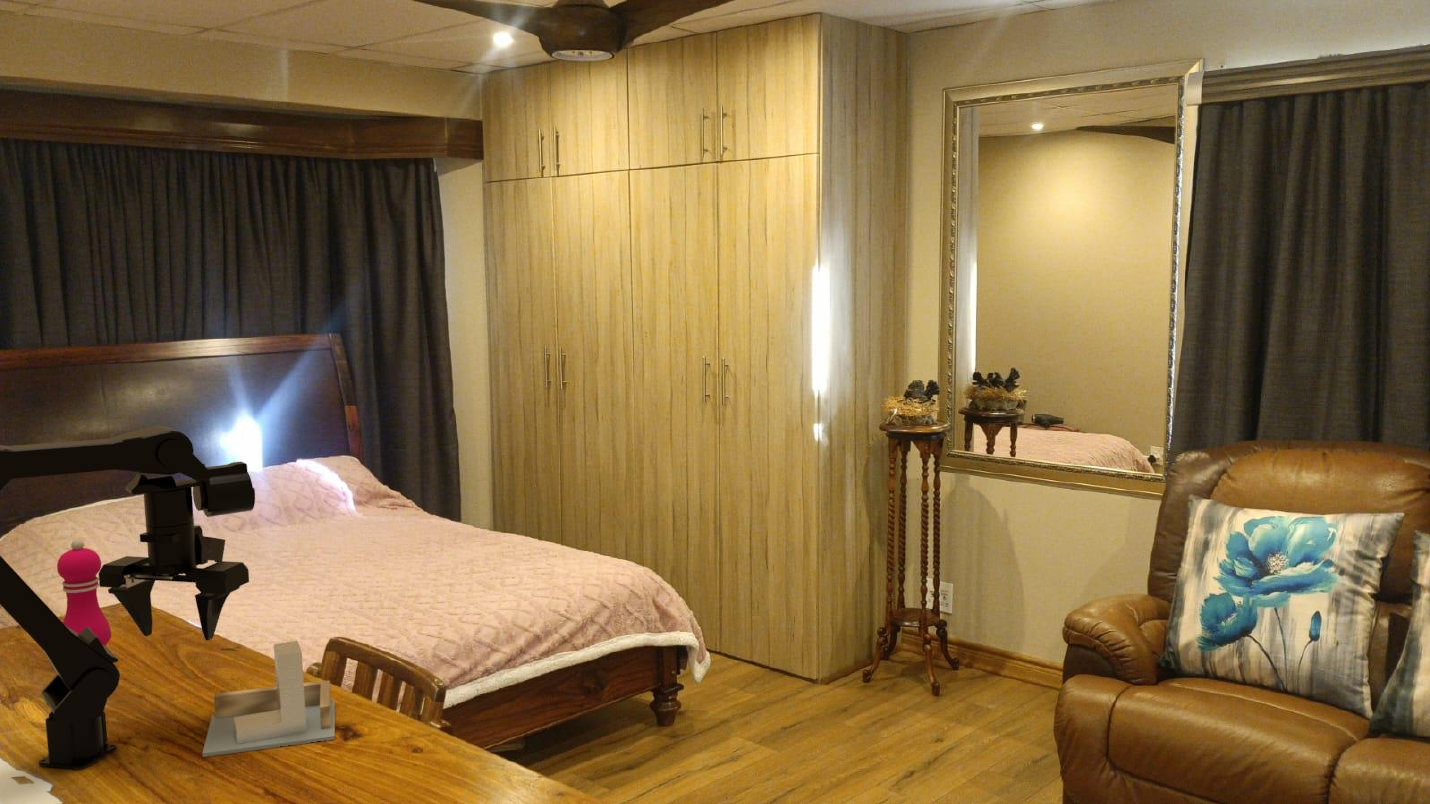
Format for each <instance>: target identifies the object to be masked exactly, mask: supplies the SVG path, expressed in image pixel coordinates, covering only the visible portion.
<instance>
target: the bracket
mask: <svg viewBox="0 0 1430 804" xmlns="http://www.w3.org/2000/svg"><path fill="white" fill-rule="evenodd" d="M273 652H274V653H273V654H274V655H273V656H274V668H275V669H274V670H275V685H276V686H275V687H276V688H277V705H278V710H274V711H269V712H263V713H257V714H251V715H245V716H239V717H234V726H235V734H236V740H237V744H243V743H248V742H254V741H259V740H265V739H271V738H276V737H282V736H287V735H293V734H298V733H304V732H306V715H305V698H304V683H305V682H304V671H303V670H304V669H303V666H304V665H303V651H302V649H301V646H300V644H299V642H298V640H294V641H293V640H292V641H286V642H281V643H274V644H273Z"/></svg>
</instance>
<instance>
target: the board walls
mask: <svg viewBox="0 0 1430 804" xmlns="http://www.w3.org/2000/svg"><path fill="white" fill-rule="evenodd" d="M304 698H305V707H307V706H315V705H320V717H321V729H325V728H331V700H332V697H331V681H330V680H319V681H313V682H312V681H311V682H304ZM213 700H214V701H213V702H214V704H213V705H214V715H215V718H218V717H226V716H234V715H242V714H250V713H258V712H267V711H274V710H278V705H277V688H276V686H269V687H260V688H259V687H258V688H252V689H251V688H250V689H242V690H235V691H225V692H218V693H217V692H216V693H214V696H213Z"/></svg>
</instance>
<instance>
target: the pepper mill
mask: <svg viewBox="0 0 1430 804" xmlns="http://www.w3.org/2000/svg"><path fill="white" fill-rule="evenodd" d="M70 545H71V548H72V549H69V550H67V551H65V552H64V553H62V554H61V555H60V557H59V558H58V561H57V565H56V568H57V569H56V570H57V574H58V575H59V577H61V578H62V579H63V581H62V582H61V584H62V591H63V592H64V593H65V594H66V611H65V614H64V618H63V621H62V622H63V623H64V624H65V625H66V626H67V627H68V628H70V629H71V630H73V631H74V632H76V633H78V634H80V633H81V632H82V631H83V630H84V629H85V628H86V627H88V628H89V629H90V630H91V631H92V632H93V633H94V634H95V635H96V636H97V638H98V639H99V640H100V642H101V643H102V645H105V646H106V647H107V644H108V643H109V642H110V641H111V638H112V629H111V625H110V624H109V622H108V619H107V618H106V616H105V614H104V613H103V611H102V609H101V607H100V605H99V604H100V603H99V599H98V595H97V591H98V590H97V589H98V588H100V586H99V576H98V577H97V575H98V574H99V572H100V570H101V568H102V560H101V558H100V557H101V556H100V555H99V554H98V553H97V552H96V551H95V550H93V549H92V548H87V547H85V542H84V541H83V540H82V539H81V538H76V539H73V540H72V542H71V543H70Z"/></svg>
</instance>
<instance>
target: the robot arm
mask: <svg viewBox="0 0 1430 804" xmlns="http://www.w3.org/2000/svg"><path fill="white" fill-rule="evenodd" d="M102 471H103V472H104V471H124V472H133V473H136V475H135V477H134V478H133V479H132V480H131V481H130V482H129V483H128V484H127V485H126V486H125V490H126V492H128V493H130V494H132V495H134V496H135V495H142V494H143V504H144V516H145V517H144V518H145V519H144V520H145V532H143V533H141V534H139V542H140V543H147V557H146V556H131V555H130V556H129V555H126V556H124V557H121V558H118V559H115V560H112V561H110V562H106V563H105V564H103V565H101V569H100V571H99V572H98V573H97V575H98V578H99V580H98V583H99V588H108V589H107V591H108V593H109V594H112V595H114V597H115V598H116V599H117V600H118V602H119V603H120V604H121V606H123V608H124V609H125V610H126V612H127V613H128V614H129V616H130V617H131V619H132V620H133V621H134V623H135V624H136V626H137V628H138V629H139V631H140V632H141V634H142V635H143V636H144V637H148V636H149V637H150V636H151V635H152V633H153V611H152V609H153V608H152V597H151V594H152V590H153V587H154V585H155V583H156V581H159V582H160V581H161V582H177V583H179V582H180V583H195V588H196V589H197V590H198V591H199V593H197V594H195V595H194V599H195V603H196V607H197V608H196V609H197V612H198V616H199V622H200V626H201V631H202V632H201V633H202V634H203V636H204V640H205V641H211V640H212V639H213V638H214V635H215V632H216V629H217V625H218V623H219V619H220V616H221V612H222V610H223V607H224V604H225V602H226V601H227V599H228V597H229V596H230V594H231V593H232V592H235V591H236V590H239V589H240V587H241V586H244V585H245V584H248V583H250V574H249V573H250V572H249V568H248V566H247V565H246V564H245V563H244V562H243V561H227V560H226V561H225V560H223V559H224V554H225V553H224V552H225V546H226V539H223V538H218V537H212V536H205V535H203V534H204V533H203V528H202V526H201V525H196V524H195V520H194V518H195V517H194V507H195V509H196V510H197V511H199V512H200V511H201V512H202V511H203V513H204V515H205V517H208V518H211V517H217V516H225V515H231V514H238V513H245V512H252V511H253V510H254V508H255V503H256V501H255V500H256V492H255V491H256V489H255V488H254V486H253V482H252V478H251V476H250V474H249V471H248V464H247V463H246V462H243V461H234V462H231V463H228V464H223V465H222V464H220V465H213V466H206V464H205V463H203V462H202V461H201V460H200V459H199V458H198V457H197V456H196V455H195V454H194V447H193V443H192V441H191V440H190V438H189V437H188V436H187V435H186V434H185V433H183V432H181V431H179V430H176V429H174V428H171V427H169V426H166V425H153V426H148V427H144V428H141V429H140V428H139V429H136V430H132V431H128V432H126V433H122V434H120V435H117V436H112V437H108V438H102V439H99V438H97V439H88V440H84V439H83V440H73V441H71V440H70V441H58V442H48V443H47V442H45V443H32V444H16V445H1V444H0V492H1V490H3V488H4V487H5V486H6V485H7V484H8V483H9V482H10V481H11V480H15V479H23V478H36V477H48V476H58V475H59V476H60V475H69V474H80V473H81V474H82V473H90V472H91V473H92V472H94V473H95V472H102ZM146 474H153V475H159V476H151V477H147V476H146ZM176 474H182V475H184V476H186V477H188V478H190V479H183V480H182V479H181V480H175V478H174V477H173V476H172V475H176ZM161 475H162V476H161ZM193 503H194V504H193ZM209 561H212V562H213V561H214V562H215V563H212V564H210V565H207V566H206V567H198V566H201V565H205V564H207V563H209ZM0 606H1V607H2V608H3V609H4V610H5V611H6V613H7V614H9V616H10V617H11V618H12V619H13V620H14V621H15V622H16V623H17V624H18V626H20V627H21V628H22V629H23V630H24V631H25V632H26V634H28V635H29V637H31V639H32V640H33V641H34V643H36V644H37V645H38V646H39V647H40V648H41V649H42V651H43V652H44V654H45V655H46V657H47V660H48V661H49V662H50V664H51V666H52V667H53V669H54V670H55V672H56V675H55V676H54V677H53V678H52V680H51V681H50V682H49V683H48V684H47V685H46V686H45V687H44V688H43V690H42V691H41V693H40V694H41V696H42V698H43V700H44V701H45V703H46V705H47V706H48V707H49V708H50V709H51V711H50V713H48V717H46V718H45V720H44V721H45V728H46V729H45V730H46V741H47V752H48V755H47V756H45V757H44V758H42V759H39V761H38V766H41V767H50V768H60V769H61V768H62V769H71V770H72V769H73V770H83V769H85V768H87V767H89V766H91V765H92V764H94V763H96V762H97V761H99V760H100V759H102V758H104V757H105V756H107V755H109V754H111V753H113V752H115V750H117V749H118V745H117V744H116V743H115V744H114V743H108V731H107V729H108V728H107V720H106V719H107V718H106V713H105V707H106V706H107V703H108V702H107V701H108V698H110V696H112V695H113V693H114V692H115V691H116V689H117V687H118V686H119V683H120V678H121V674H120V670H119V669H118V668H117V665H116V664H115V663H117V662H119V659H118V658H117V656H115V654H114V653H113V652H112V650H110V649H109V648H108V646H107V645H106V646H105V645H102V643H101V642H100V640H99V639H98V638H97V636H96V635H95V634H94V633H93V632H92V631H91V630H90V629H89V628H88V627H86V628H85V629H84V630H83V631H82V632H81V633H80V634H78V633H76V632H74V631H73V630H71V629H70V628H68V627H67V626H66V625H65V624H64V623H63V621H62V620H61V619H60V618H59V617H58V616H57V615H56V614H55V613H54V611H53V610H52V609H51V608H50V607H49V605H48V604H47V603H46V602H44V600H43V599H41V597H40V596H39V595H38V594H37V593H36V592H35V591H34V590H33V589H32V588H31V586H30V585H28V584H27V583H26V581H25V580H24V579H23V578H22V577H21V576H20V575H19V574H18V572H16V571H15V570H14V569H13V567H12V566H11V565H10V564H9V562H7V561H6V560H5V559H4V558H3V556H2V555H0Z"/></svg>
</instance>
